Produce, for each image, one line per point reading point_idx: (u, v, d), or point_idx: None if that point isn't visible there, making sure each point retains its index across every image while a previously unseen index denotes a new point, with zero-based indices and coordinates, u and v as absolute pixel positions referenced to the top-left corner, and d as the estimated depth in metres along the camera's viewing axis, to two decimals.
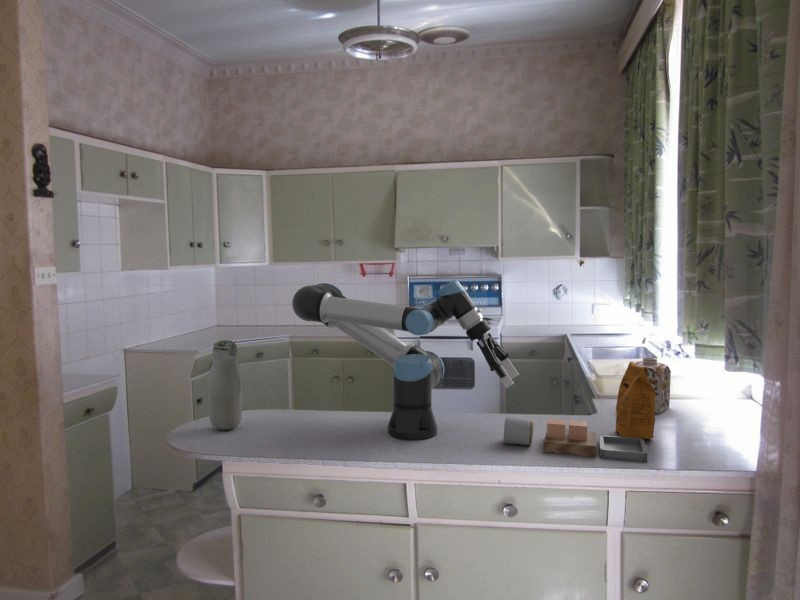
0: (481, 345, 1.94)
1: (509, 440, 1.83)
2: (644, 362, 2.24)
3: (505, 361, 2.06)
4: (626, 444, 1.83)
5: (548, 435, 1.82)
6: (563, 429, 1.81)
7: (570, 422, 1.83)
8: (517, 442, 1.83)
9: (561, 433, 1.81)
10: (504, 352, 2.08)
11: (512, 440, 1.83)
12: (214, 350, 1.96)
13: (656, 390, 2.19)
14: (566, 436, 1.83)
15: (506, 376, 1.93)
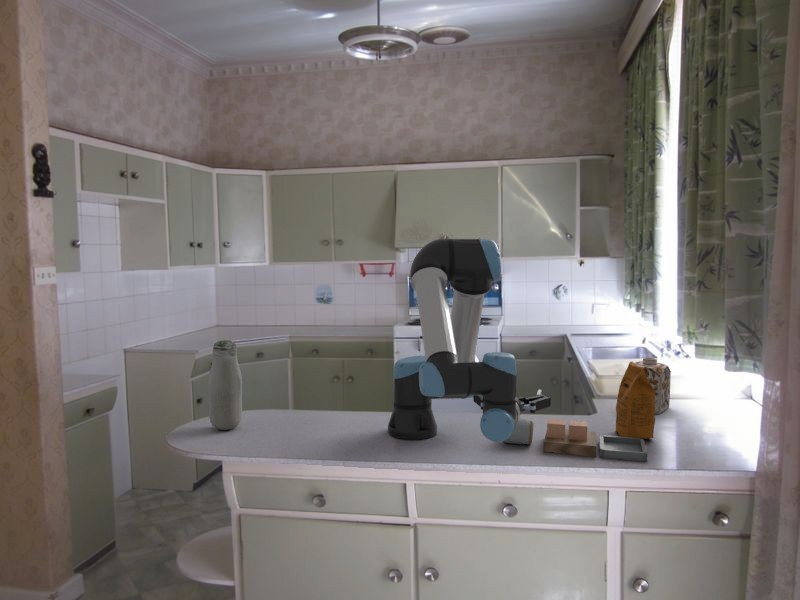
0: None
1: (509, 439, 1.84)
2: (644, 362, 2.24)
3: None
4: (626, 444, 1.83)
5: (548, 435, 1.82)
6: (563, 429, 1.81)
7: (570, 422, 1.83)
8: (517, 441, 1.84)
9: (561, 433, 1.81)
10: None
11: (512, 440, 1.84)
12: (214, 350, 1.96)
13: (656, 390, 2.19)
14: (566, 436, 1.83)
15: None
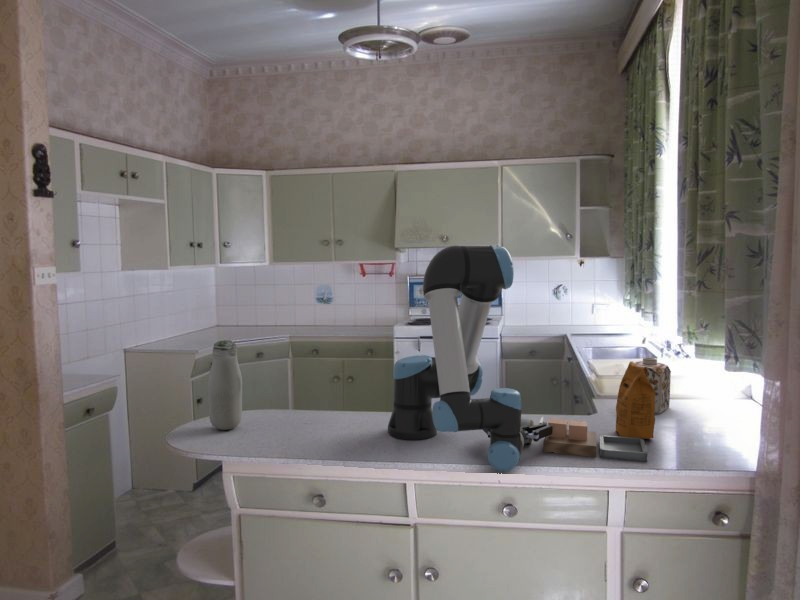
0: None
1: None
2: (644, 362, 2.24)
3: None
4: (626, 444, 1.83)
5: None
6: (564, 429, 1.81)
7: (570, 422, 1.83)
8: None
9: (562, 432, 1.81)
10: None
11: None
12: (214, 350, 1.96)
13: (656, 390, 2.19)
14: None
15: None
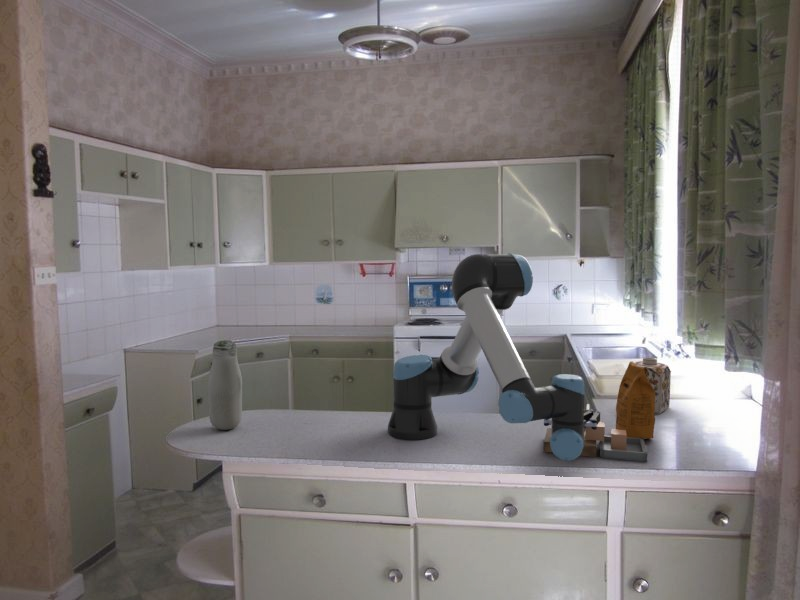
0: None
1: None
2: (644, 362, 2.24)
3: None
4: (626, 444, 1.83)
5: (587, 438, 1.79)
6: (602, 431, 1.78)
7: None
8: None
9: (600, 435, 1.78)
10: None
11: None
12: (214, 350, 1.96)
13: (656, 390, 2.19)
14: None
15: None
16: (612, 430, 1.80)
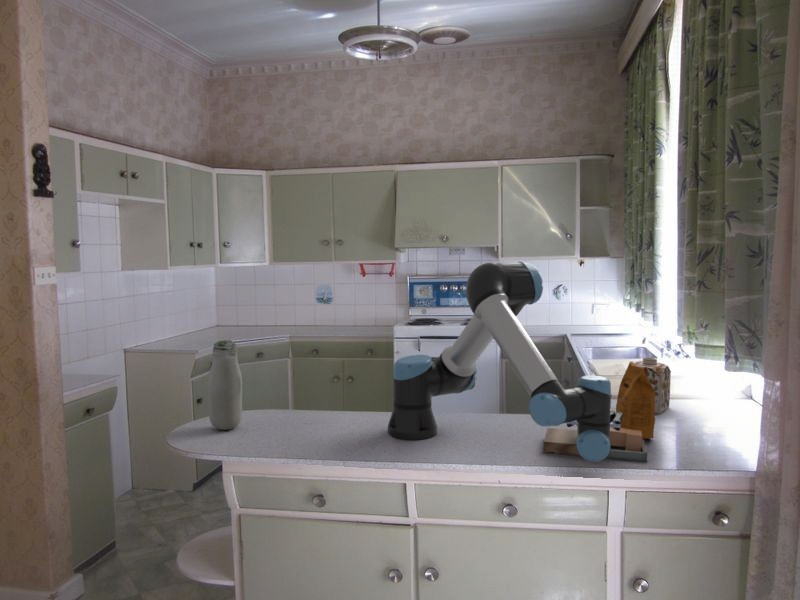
0: None
1: None
2: (644, 362, 2.24)
3: None
4: None
5: None
6: (624, 437, 1.78)
7: (641, 433, 1.78)
8: None
9: (622, 441, 1.78)
10: None
11: None
12: (214, 350, 1.96)
13: (656, 390, 2.19)
14: (566, 436, 1.83)
15: None
16: (627, 430, 1.79)
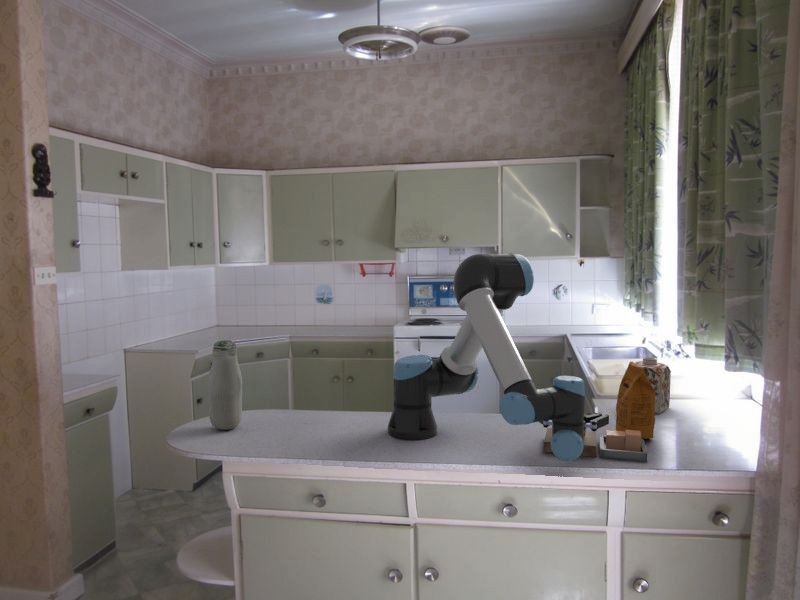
0: None
1: None
2: (644, 362, 2.24)
3: None
4: None
5: (607, 447, 1.79)
6: (623, 441, 1.78)
7: (640, 433, 1.78)
8: None
9: (621, 445, 1.78)
10: None
11: None
12: (214, 350, 1.96)
13: (656, 390, 2.19)
14: None
15: None
16: (626, 431, 1.79)
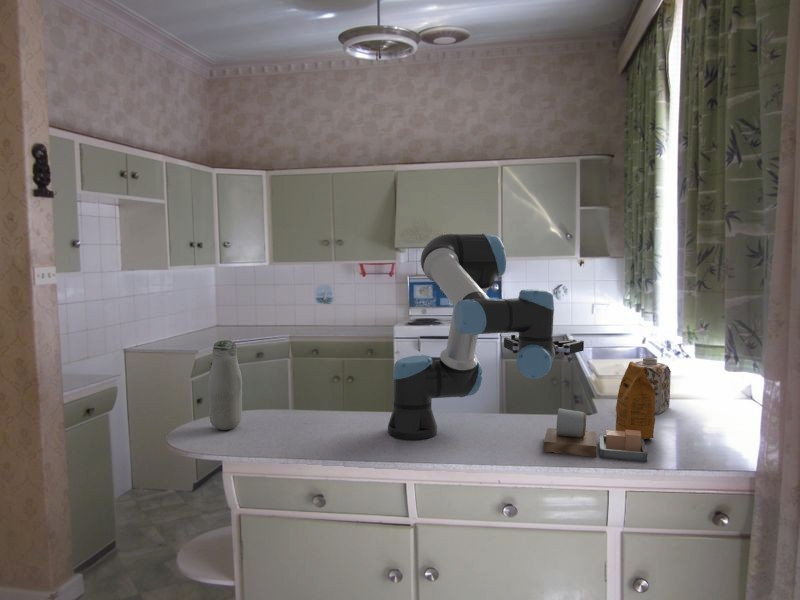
0: None
1: (562, 432, 1.81)
2: (644, 362, 2.24)
3: None
4: None
5: (607, 447, 1.79)
6: (623, 441, 1.78)
7: (640, 433, 1.78)
8: (570, 434, 1.80)
9: (621, 445, 1.78)
10: None
11: (565, 432, 1.80)
12: (214, 350, 1.96)
13: (656, 390, 2.19)
14: (566, 436, 1.83)
15: None
16: (626, 431, 1.79)
